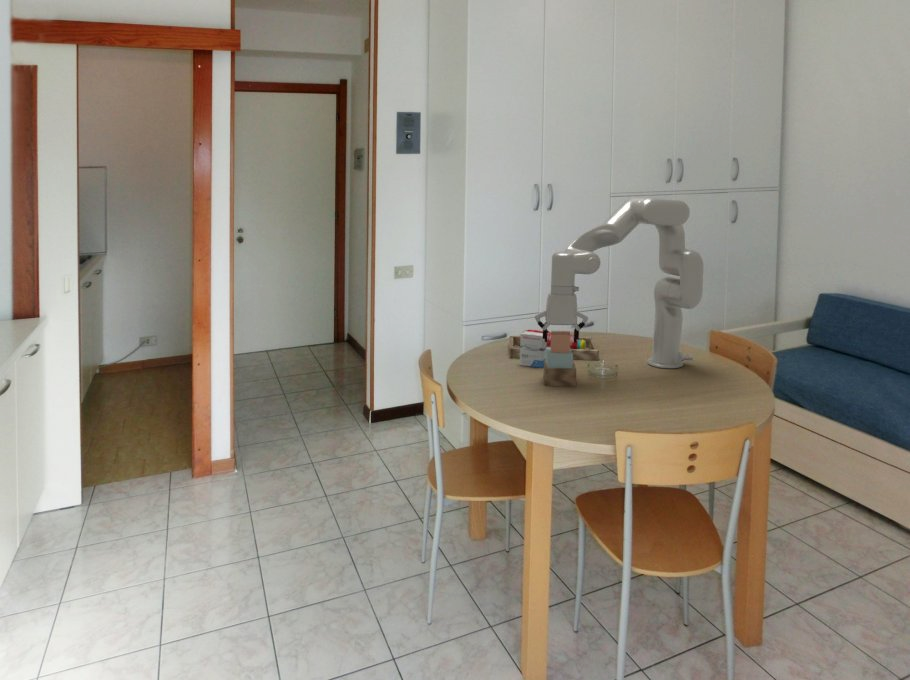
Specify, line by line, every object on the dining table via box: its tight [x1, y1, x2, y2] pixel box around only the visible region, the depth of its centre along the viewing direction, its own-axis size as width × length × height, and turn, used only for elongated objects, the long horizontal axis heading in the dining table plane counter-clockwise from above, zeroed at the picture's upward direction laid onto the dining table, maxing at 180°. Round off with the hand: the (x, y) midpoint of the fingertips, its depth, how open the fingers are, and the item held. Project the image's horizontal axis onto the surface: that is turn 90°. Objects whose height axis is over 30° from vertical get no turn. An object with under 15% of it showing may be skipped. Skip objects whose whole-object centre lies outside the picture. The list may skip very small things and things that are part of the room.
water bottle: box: [523, 329, 587, 350], centre depth 275 cm, size 12×8×25 cm
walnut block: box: [543, 360, 577, 387], centre depth 237 cm, size 10×10×6 cm
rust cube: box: [550, 330, 571, 353], centre depth 235 cm, size 6×6×6 cm
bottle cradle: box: [508, 335, 600, 361], centre depth 273 cm, size 33×20×4 cm, turn 86°
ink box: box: [519, 330, 546, 369], centre depth 255 cm, size 8×5×12 cm, turn 65°
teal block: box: [545, 347, 574, 368], centre depth 236 cm, size 8×8×5 cm
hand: (560, 341), depth 234 cm, fingers open, 9 cm apart
